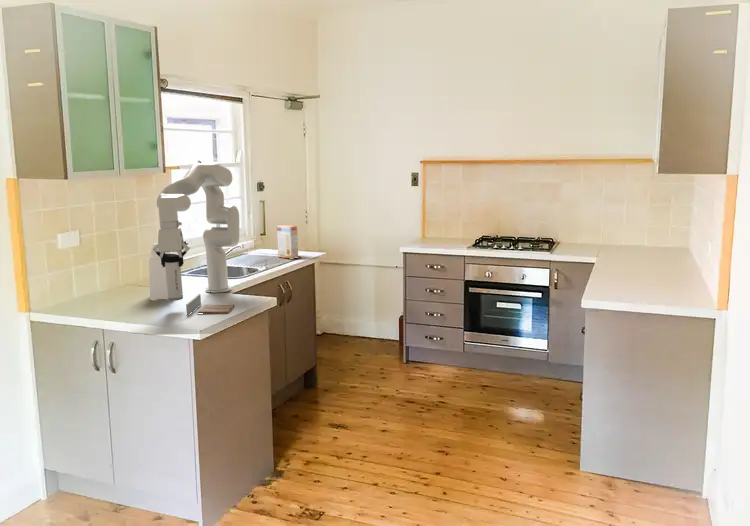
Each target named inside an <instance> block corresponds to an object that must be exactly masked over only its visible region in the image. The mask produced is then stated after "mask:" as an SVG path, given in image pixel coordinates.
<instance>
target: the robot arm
mask: <svg viewBox="0 0 750 526" xmlns="http://www.w3.org/2000/svg"><path fill="white" fill-rule="evenodd" d="M232 183H233V173H232V172H231V170H230V169H229V168H227V167H226V166H223V165H221V164H218V163H215V162H204V163H203V162H201V163H200V162H199V163H198V162H197V163H195V164H192V166H191V167H190V168H189V169H188V171H186V174H185V175H184V176H183V177H182V178H181V179H179V180H177V181H175V182H172V183H171V184H168V185H167V186H166V187H164V188H163V190H161V192H160V193H159V195H158V196H157V198H156V207H157V208H158V216H159V218H158V219H159V228H158V232H157V233H158V234H157V243H158V244H157V245H156V246H155V247H154V248H153V251H154V252H155V253H156V254H157V255H158V256H159V257H160V258H161V265H162V266H163V267H165V256H164V254H165V253H166V252H172V253H174V252H176V253H177V255H179V258H178V260H179V267H181V268H182V267H183V266H184V256H185V255H186V254H187V253H188V252H189V250H190V247H189V246H188V245H187V244H186V243H185V241H184V236H183V235H184V234H183V231H182V229H181V227H180V226H182V222H179V221H180V220H179V216H178V215H179V214H178V212H186V211H188V210H189V209H190V207H191V205H192V204H191V202H192V201H191V198H190V197H189V196H190V195H193V194H195V193H197V192H198V191H199V190H200V188H202V190H203V191H204V194H205V198H206V199H205V203H206V204H205V205H206V206H205V207H206V210H205V212H206V213H205V214H206V221H207V222H208V223H209V224H211V225H226V226H227V227H225V226H212V227H207V228H206V229H205V230H204V231H203V234H202V237H203V238H202V240H203V243H204V248H205V253H206V271H207V283H208V284H207V287H206V288H204V289H205V292H206V293H210V292H211V294H212V293H214V294H216V293H219V294H221V293H225V292H230V291H231V290H232V286H230V285H229V279H228V277H229V276H228V264H227V253H226V252H225V249H224V247H225V248H226V247H229V248H233V247H237V245H238V244H239V242H240V212H239V209H238V208H237V206H235V205H233V204H225V194H224V192H223V191H222V189H221V187H228V186H230V185H231V184H232ZM158 249H159V251H158ZM160 251H161V252H160Z"/></svg>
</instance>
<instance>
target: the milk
mask: <svg viewBox="0 0 750 526" xmlns="http://www.w3.org/2000/svg"><path fill="white" fill-rule="evenodd" d="M157 244H158V242H157V243H153V244H152V248H151V251H150V256H149V259H148V260H149V261H148V274H149V301H150V300H152V301H158V300H157V299H167V300H168V292H167V281H166V269H165V267H163V266H162V265H161V258H160V257H159V256H158V255H157V254H156V253H155V252H154V251H153V248H154V247H155V246H156V245H157ZM158 251H159V249H158ZM160 252H161V251H160ZM165 254H173V252H166V253H165Z"/></svg>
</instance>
